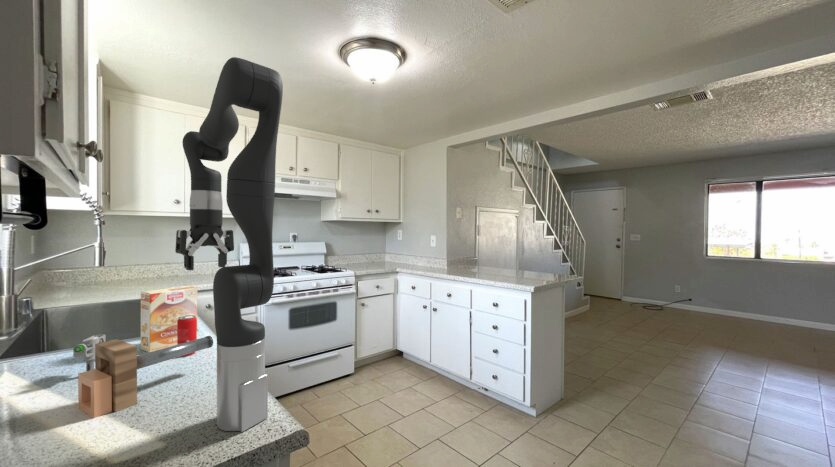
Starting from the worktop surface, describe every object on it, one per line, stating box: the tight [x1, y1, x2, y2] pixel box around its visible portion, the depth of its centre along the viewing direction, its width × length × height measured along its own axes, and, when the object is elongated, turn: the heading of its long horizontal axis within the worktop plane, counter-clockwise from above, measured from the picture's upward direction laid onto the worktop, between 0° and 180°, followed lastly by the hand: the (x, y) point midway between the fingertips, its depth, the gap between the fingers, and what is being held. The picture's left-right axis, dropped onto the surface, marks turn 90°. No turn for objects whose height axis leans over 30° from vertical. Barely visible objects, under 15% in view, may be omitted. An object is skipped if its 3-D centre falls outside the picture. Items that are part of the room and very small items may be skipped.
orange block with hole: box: [77, 368, 113, 419], centre depth 77 cm, size 8×3×8 cm, turn 62°
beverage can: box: [177, 315, 198, 357], centre depth 112 cm, size 5×5×12 cm
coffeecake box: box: [140, 285, 198, 353], centre depth 120 cm, size 15×7×20 cm, turn 150°
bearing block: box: [94, 338, 138, 413], centre depth 81 cm, size 10×4×14 cm, turn 62°
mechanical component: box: [72, 334, 107, 372], centre depth 95 cm, size 3×10×10 cm, turn 15°
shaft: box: [137, 335, 214, 370], centre depth 91 cm, size 21×3×3 cm, turn 152°
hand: (206, 268), depth 93 cm, fingers open, 8 cm apart
